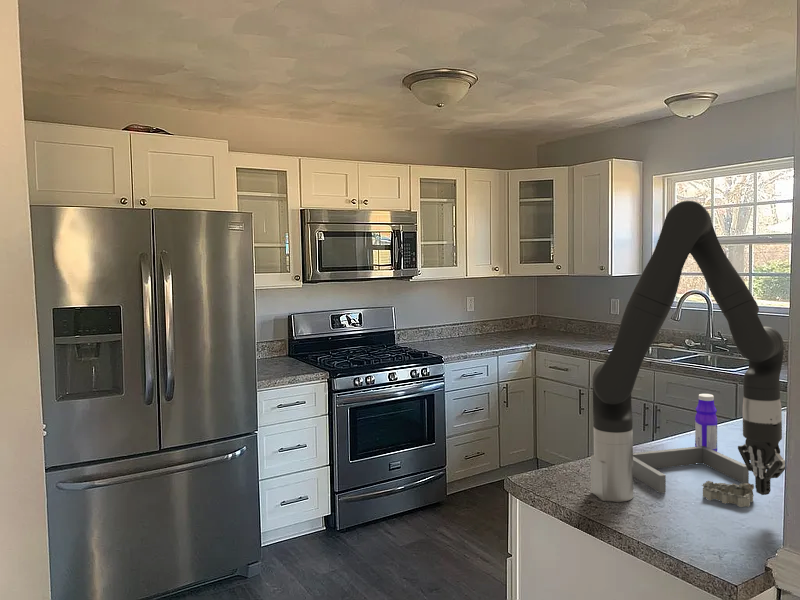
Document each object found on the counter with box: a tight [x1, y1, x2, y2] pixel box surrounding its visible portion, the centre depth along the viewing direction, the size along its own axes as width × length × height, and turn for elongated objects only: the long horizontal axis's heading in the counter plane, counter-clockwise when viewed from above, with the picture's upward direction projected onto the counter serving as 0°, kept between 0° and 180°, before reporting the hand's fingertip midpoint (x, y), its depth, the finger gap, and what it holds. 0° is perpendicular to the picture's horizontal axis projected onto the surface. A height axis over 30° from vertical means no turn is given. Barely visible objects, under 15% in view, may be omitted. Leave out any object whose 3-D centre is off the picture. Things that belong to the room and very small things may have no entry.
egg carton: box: [701, 480, 755, 508], centre depth 150 cm, size 11×8×4 cm
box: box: [633, 446, 750, 494], centre depth 166 cm, size 25×18×4 cm
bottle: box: [694, 393, 719, 452], centre depth 183 cm, size 7×6×17 cm
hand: (763, 493), depth 138 cm, fingers closed
